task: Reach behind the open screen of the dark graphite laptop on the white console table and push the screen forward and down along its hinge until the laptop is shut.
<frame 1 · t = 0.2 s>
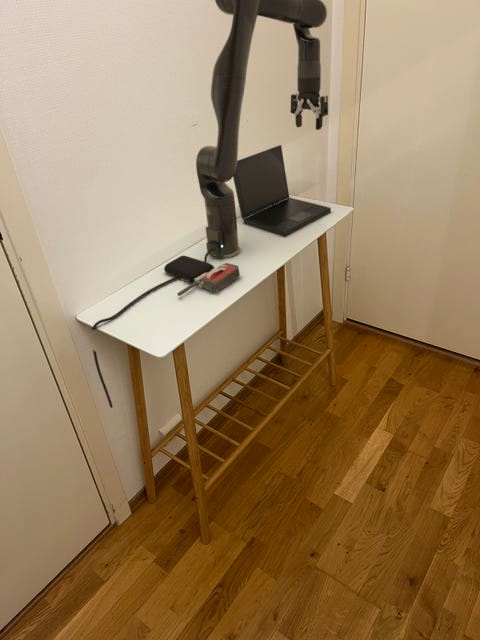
hand: (308, 128, 155), 29 cm above the table, tool pointing down, fingers open, 8 cm apart
laptop screen: (261, 181, 167), point 12 cm above the table, hinge at 100.0°
grey red handheld meter: (211, 286, 130), on the table, touching carrying case
carrying case: (188, 274, 138), on the table, touching grey red handheld meter
laptop: (287, 217, 166), on the table
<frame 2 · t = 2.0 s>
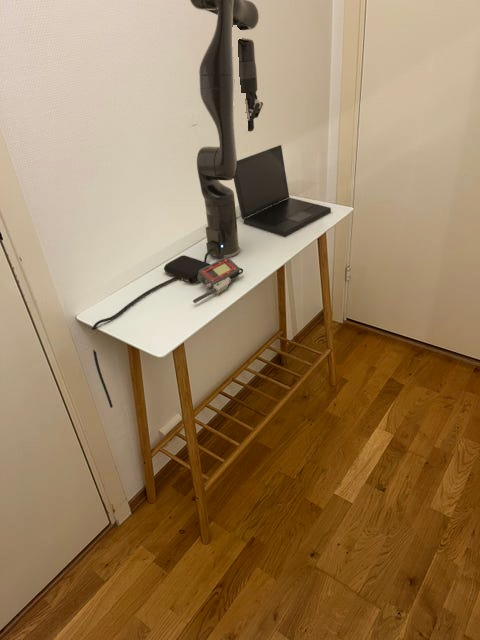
hand: (249, 130, 160), 29 cm above the table, tool pointing down, fingers closed
grey red handheld meter: (214, 275, 126), point 4 cm above the table
carrying case: (188, 274, 138), on the table
everything else where it was.
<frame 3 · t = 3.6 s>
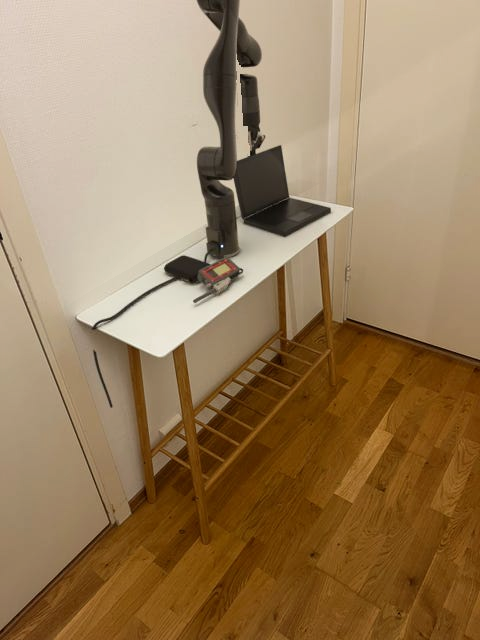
hand: (252, 160, 166), 19 cm above the table, tool pointing down, fingers closed
laptop screen: (261, 181, 167), point 12 cm above the table, hinge at 100.0°, touching gripper
everything else where it was.
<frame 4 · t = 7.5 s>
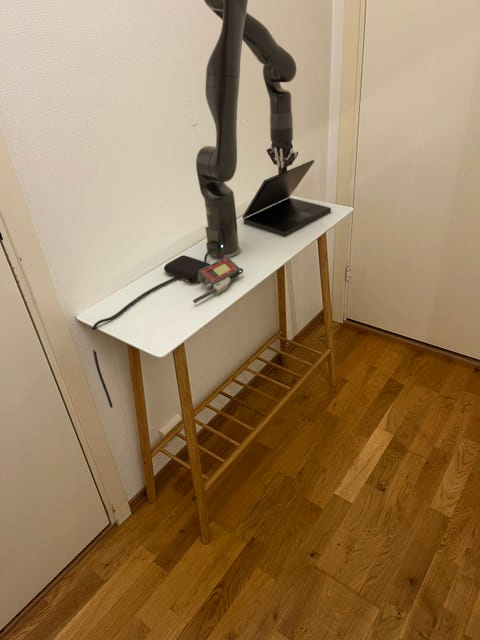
hand: (283, 177, 159), 15 cm above the table, tool pointing down, fingers closed
laptop screen: (278, 189, 163), point 10 cm above the table, hinge at 51.9°, touching gripper
everything else where it was.
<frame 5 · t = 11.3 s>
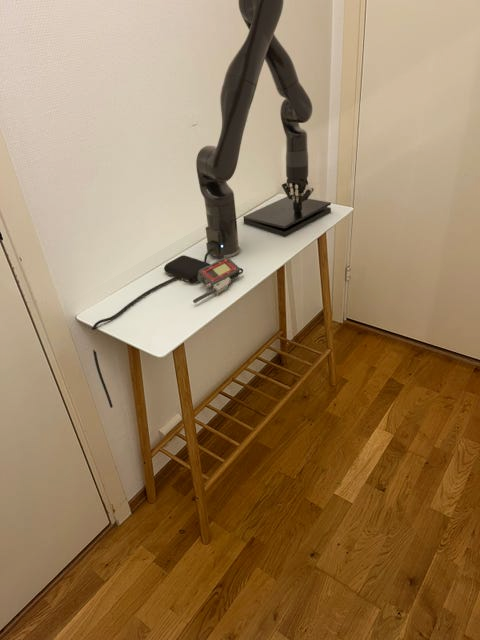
hand: (297, 211, 162), 4 cm above the table, tool pointing down, fingers closed
laptop screen: (287, 210, 165), point 3 cm above the table, hinge at 3.1°, touching gripper, laptop
everything else where it was.
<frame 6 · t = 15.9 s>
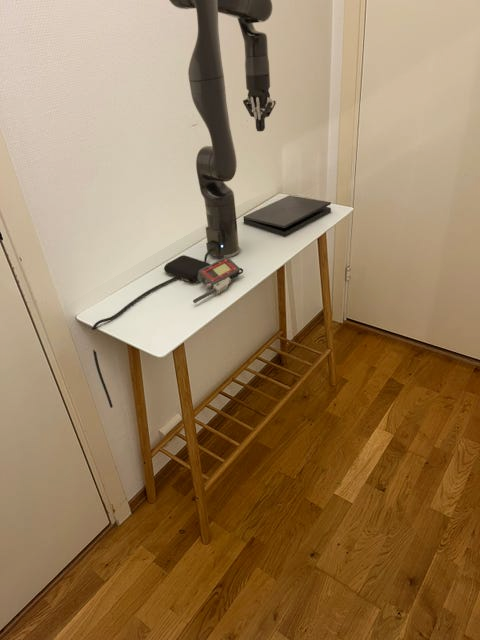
hand: (260, 130, 150), 31 cm above the table, tool pointing down, fingers closed
laptop screen: (287, 210, 165), point 3 cm above the table, hinge at 3.5°, touching laptop
everything else where it was.
at the end: laptop screen at +4° (first picture: +100°) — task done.
